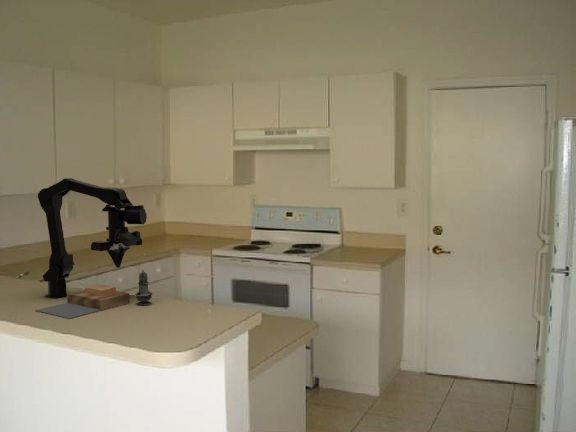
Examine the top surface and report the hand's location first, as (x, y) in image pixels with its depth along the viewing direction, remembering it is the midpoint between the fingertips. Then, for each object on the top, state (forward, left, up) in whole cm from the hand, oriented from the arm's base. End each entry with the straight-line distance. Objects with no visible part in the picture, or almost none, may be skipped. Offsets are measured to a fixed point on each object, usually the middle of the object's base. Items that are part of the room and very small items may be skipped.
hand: (118, 267), depth 207 cm
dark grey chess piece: (+14, -1, -12) cm, 18 cm away
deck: (0, -9, -11) cm, 14 cm away
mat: (0, -21, -11) cm, 24 cm away
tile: (0, -8, -8) cm, 11 cm away
